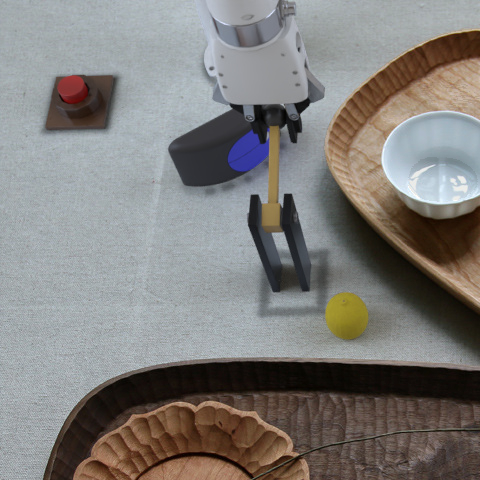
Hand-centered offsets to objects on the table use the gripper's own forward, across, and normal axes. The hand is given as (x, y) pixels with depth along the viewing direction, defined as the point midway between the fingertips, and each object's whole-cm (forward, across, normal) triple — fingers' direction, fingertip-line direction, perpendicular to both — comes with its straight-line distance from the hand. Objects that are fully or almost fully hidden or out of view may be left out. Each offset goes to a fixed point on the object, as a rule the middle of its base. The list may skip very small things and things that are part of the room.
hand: (279, 133), depth 102 cm
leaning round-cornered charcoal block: (+15, +10, -8) cm, 20 cm away
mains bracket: (+15, 0, +12) cm, 20 cm away
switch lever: (0, 0, +6) cm, 6 cm away
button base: (+15, +35, -20) cm, 43 cm away
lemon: (+16, -8, +20) cm, 26 cm away
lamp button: (+13, +35, -20) cm, 42 cm away
